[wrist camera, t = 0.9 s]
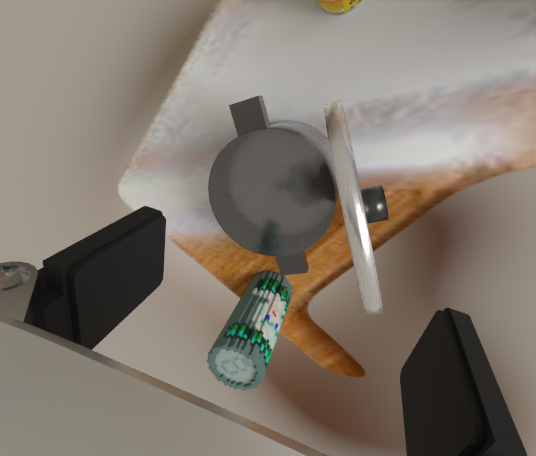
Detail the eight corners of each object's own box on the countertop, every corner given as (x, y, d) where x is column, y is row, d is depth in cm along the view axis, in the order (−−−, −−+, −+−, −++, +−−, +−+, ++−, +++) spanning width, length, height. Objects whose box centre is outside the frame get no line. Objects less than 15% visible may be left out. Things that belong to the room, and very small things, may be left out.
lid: (326, 103, 26) (357, 93, 26) (357, 249, 31) (384, 245, 30) (319, 108, 13) (382, 89, 12) (375, 366, 17) (424, 363, 17)
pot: (323, 79, 34) (310, 77, 26) (355, 235, 39) (353, 272, 32) (218, 114, 38) (180, 121, 30) (261, 248, 44) (239, 283, 36)
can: (299, 298, 46) (272, 383, 33) (266, 310, 48) (228, 393, 35) (277, 265, 45) (240, 339, 31) (244, 279, 47) (197, 354, 34)
